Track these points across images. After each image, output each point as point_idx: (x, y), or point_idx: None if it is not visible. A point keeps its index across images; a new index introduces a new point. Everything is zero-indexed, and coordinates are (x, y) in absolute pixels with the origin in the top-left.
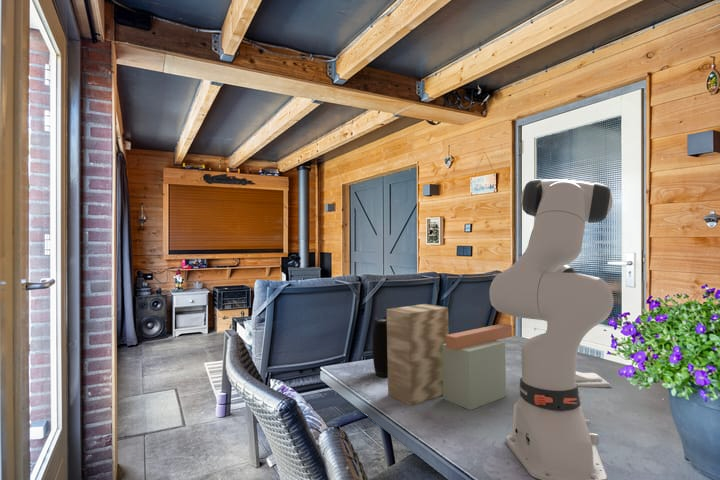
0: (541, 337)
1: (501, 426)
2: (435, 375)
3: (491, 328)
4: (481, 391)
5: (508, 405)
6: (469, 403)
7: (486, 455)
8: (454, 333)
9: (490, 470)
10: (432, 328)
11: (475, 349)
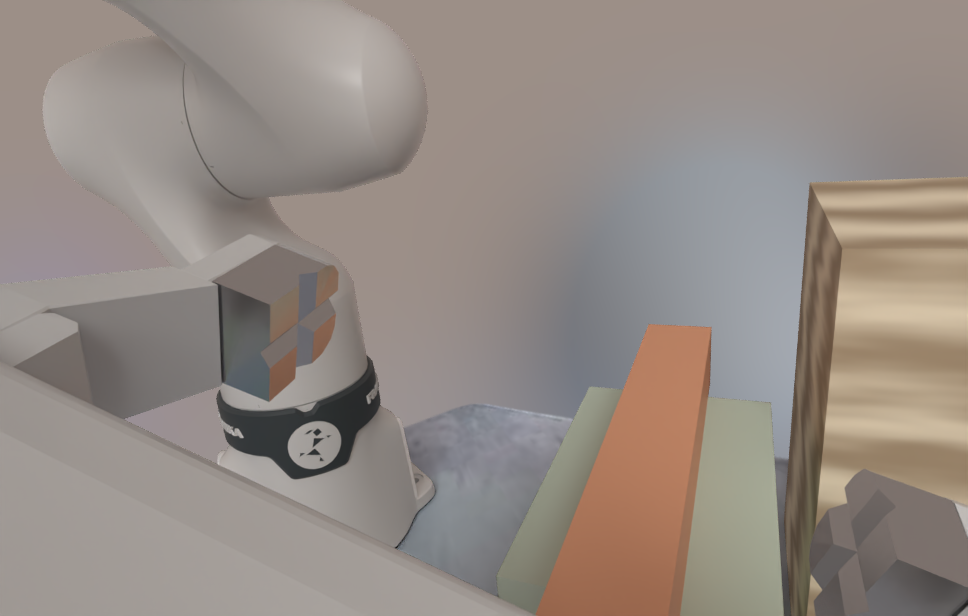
0: (289, 231)
1: (462, 548)
2: (799, 540)
3: (605, 507)
4: None
5: None
6: None
7: (460, 442)
8: (704, 352)
9: (441, 418)
10: (816, 315)
11: (581, 410)
